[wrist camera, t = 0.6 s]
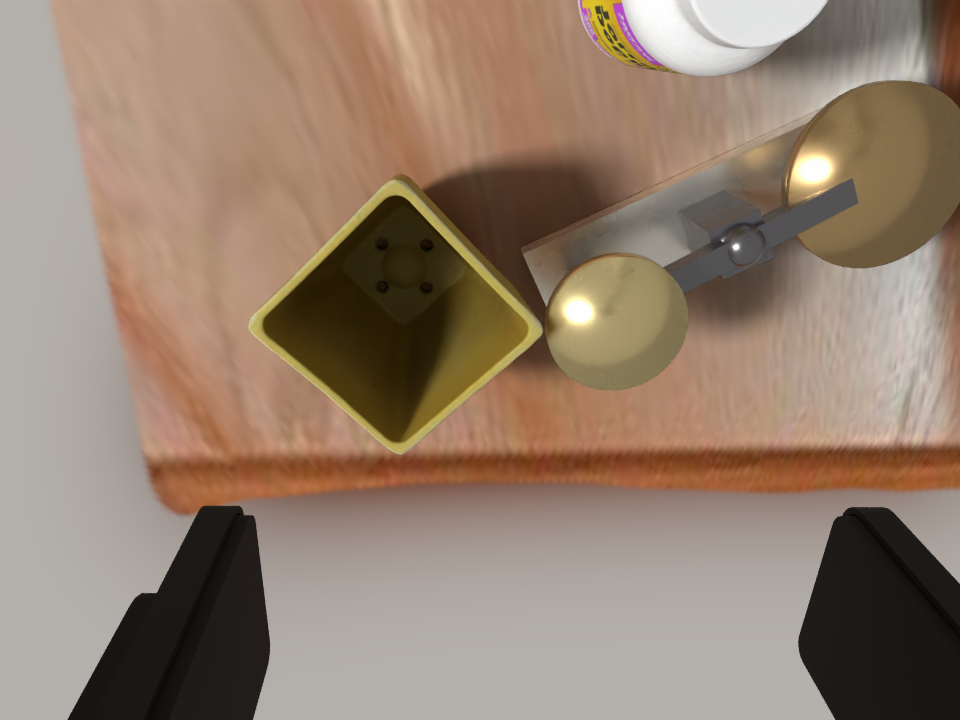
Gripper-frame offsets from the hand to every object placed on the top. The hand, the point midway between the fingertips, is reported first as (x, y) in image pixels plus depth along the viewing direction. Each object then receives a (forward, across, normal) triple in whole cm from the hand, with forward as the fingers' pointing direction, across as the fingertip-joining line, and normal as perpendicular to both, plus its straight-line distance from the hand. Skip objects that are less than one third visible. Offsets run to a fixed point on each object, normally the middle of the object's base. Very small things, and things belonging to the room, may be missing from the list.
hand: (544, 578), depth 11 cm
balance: (+27, -12, 0) cm, 29 cm away
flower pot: (+27, +4, +3) cm, 27 cm away
